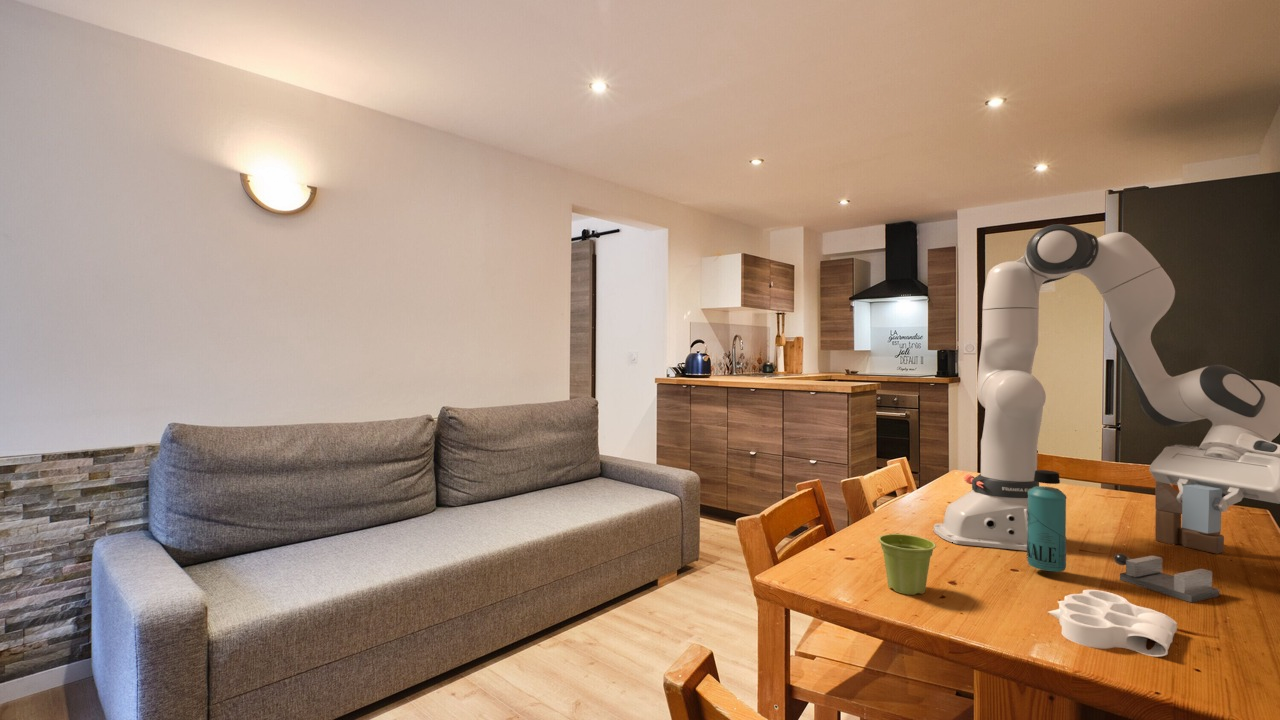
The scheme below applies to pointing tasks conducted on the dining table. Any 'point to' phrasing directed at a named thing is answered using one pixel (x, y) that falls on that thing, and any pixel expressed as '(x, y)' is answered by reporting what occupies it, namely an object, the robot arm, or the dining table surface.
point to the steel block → (1200, 508)
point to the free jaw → (1140, 565)
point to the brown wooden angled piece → (1171, 524)
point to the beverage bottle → (1046, 524)
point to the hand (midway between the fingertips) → (1199, 505)
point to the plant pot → (906, 562)
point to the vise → (1178, 584)
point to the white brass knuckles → (1113, 623)
